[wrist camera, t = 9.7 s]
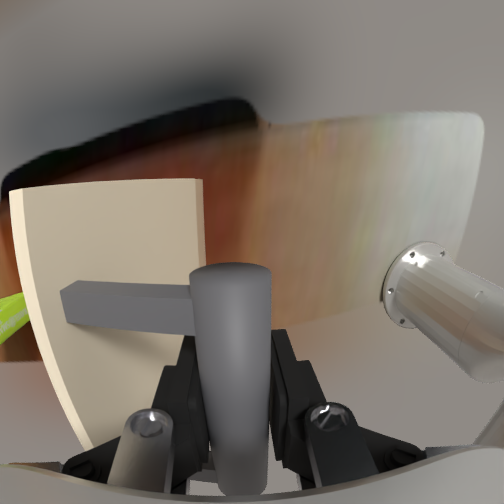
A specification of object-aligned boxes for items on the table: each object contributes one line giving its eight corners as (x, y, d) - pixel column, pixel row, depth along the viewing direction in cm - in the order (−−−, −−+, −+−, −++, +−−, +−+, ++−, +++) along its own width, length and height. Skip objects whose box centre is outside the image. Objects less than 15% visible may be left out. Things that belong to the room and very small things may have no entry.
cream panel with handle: (187, 179, 23) (271, 176, 23) (198, 337, 26) (271, 340, 26) (9, 191, 6) (270, 164, 5) (123, 508, 9) (264, 530, 8)
